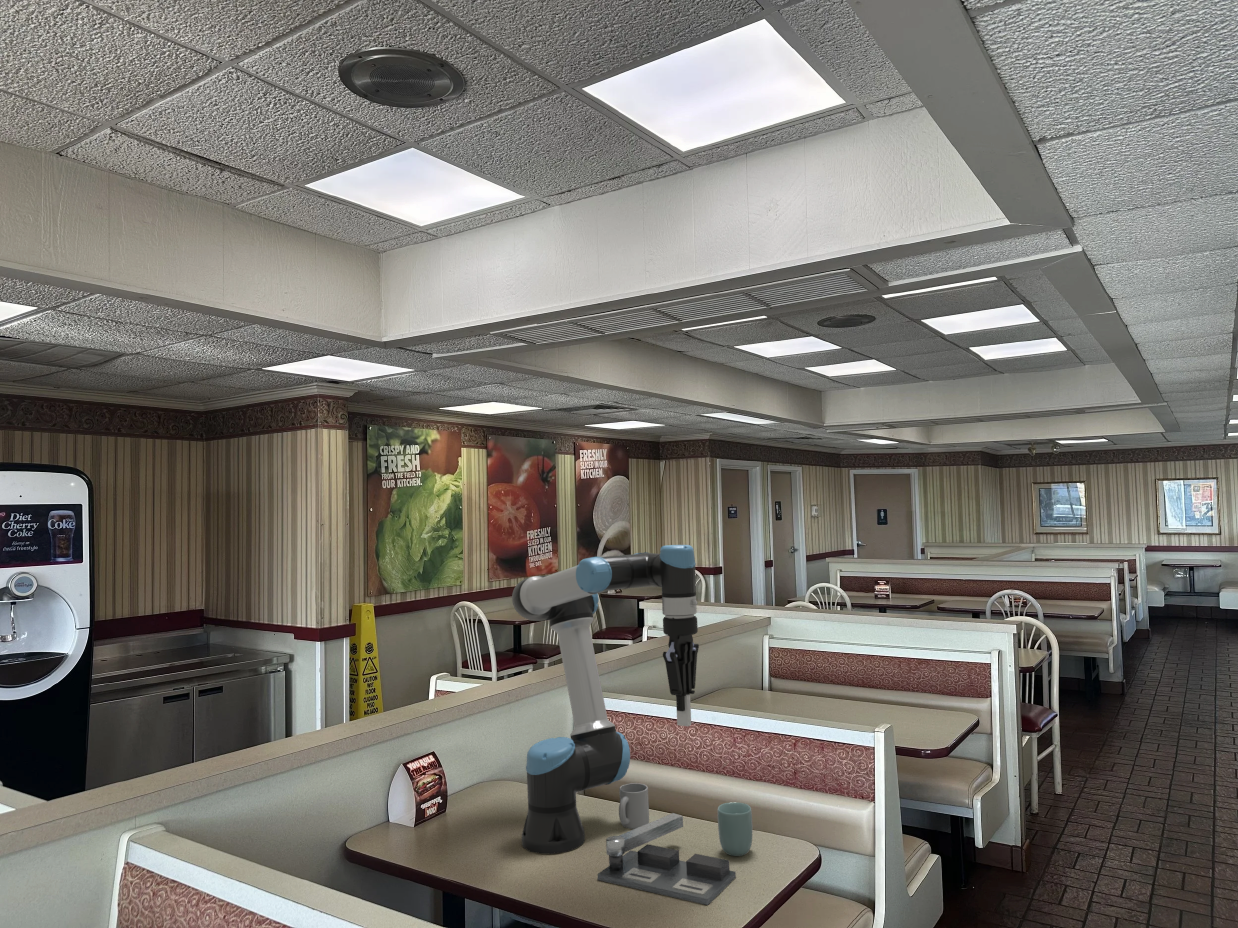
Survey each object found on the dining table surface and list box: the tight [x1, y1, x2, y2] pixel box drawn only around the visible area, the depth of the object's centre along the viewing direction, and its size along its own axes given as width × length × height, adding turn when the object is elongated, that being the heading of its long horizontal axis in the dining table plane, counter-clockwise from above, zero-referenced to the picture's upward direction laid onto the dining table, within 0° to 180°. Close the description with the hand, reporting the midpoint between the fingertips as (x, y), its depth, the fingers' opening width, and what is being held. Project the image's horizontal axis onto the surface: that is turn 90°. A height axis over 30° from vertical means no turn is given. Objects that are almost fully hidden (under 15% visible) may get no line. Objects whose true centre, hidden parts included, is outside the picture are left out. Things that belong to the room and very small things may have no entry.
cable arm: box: [605, 812, 684, 857], centre depth 189 cm, size 22×4×3 cm, turn 134°
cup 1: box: [618, 782, 650, 830], centre depth 210 cm, size 7×10×9 cm
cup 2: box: [717, 801, 753, 857], centre depth 191 cm, size 8×8×10 cm
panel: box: [597, 843, 737, 906], centre depth 179 cm, size 26×14×4 cm, turn 59°
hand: (684, 724), depth 182 cm, fingers closed
